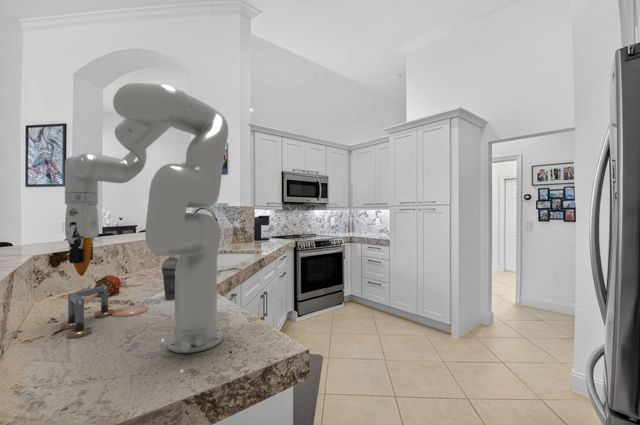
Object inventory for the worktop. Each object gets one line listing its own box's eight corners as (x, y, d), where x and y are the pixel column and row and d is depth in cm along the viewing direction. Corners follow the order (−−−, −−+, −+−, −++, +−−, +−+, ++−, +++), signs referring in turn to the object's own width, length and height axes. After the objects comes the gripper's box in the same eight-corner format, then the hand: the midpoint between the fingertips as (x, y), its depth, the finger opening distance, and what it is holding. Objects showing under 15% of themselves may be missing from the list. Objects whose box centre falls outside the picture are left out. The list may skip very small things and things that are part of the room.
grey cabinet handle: (86, 336, 74) (86, 301, 75) (38, 342, 71) (38, 305, 72) (116, 311, 94) (116, 283, 95) (79, 315, 91) (80, 286, 92)
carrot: (88, 276, 83) (88, 224, 83) (67, 278, 81) (67, 225, 82) (94, 273, 88) (94, 224, 88) (74, 275, 86) (74, 224, 86)
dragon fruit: (105, 302, 110) (105, 300, 120) (127, 286, 115) (125, 285, 125) (89, 286, 108) (90, 285, 118) (111, 270, 113) (111, 270, 122)
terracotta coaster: (144, 314, 91) (144, 312, 91) (106, 318, 88) (106, 316, 88) (152, 305, 101) (152, 304, 101) (118, 308, 98) (118, 306, 98)
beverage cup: (173, 301, 105) (173, 246, 106) (156, 300, 107) (156, 246, 107) (186, 296, 113) (186, 244, 113) (170, 295, 114) (170, 244, 114)
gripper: (83, 197, 78) (83, 265, 78) (107, 201, 94) (107, 257, 94) (49, 197, 76) (49, 266, 75) (80, 201, 92) (80, 258, 92)
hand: (81, 260), depth 85 cm, fingers closed on carrot, 4 cm apart
